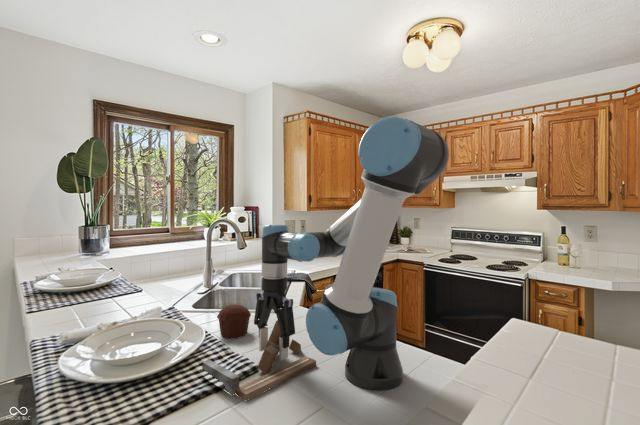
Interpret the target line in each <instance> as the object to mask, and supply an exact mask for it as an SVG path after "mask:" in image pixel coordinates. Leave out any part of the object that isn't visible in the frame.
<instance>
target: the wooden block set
mask: <svg viewBox="0 0 640 425" xmlns="http://www.w3.org/2000/svg"><path fill="white" fill-rule="evenodd" d="M285 332H286V331H285ZM280 336H282V334H281V330H280V327H279V323H278V319H277V320H275V323H274V325H273V328H272V331H271V332H270V335H269V337H268V343H267V345H266V348H265V350H263V351H262V352H263V353H262V355H261V357H260V360H259V363H258V365H257V369H258V368H259V369H258V370H260V371H261V372H262V373H263V374H264V375H266V374H268V373H270V372H271V370H272V369H273V366H274V364H275V361H276V359H277V357H278V356H279V339H280ZM288 350H290V351H292V352H294V353H295V354H298V353H300V352H301V350H302V345H301V344H300V343H299V342H298V341H296V340H294V339H292V340H291V341H290V343H289V347H288Z"/></svg>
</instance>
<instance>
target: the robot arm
mask: <svg viewBox="0 0 640 425" xmlns="http://www.w3.org/2000/svg"><path fill="white" fill-rule="evenodd" d="M448 146H449V145H448V144H447V141H446V140H445V138H444V137H443V135H441V133H439V132H437V131H435V130H433V129H432V128H428V127H427V126H423V125H422V124H419V123H416V122H415V121H413V120H410V119H407V118H403V117H399V116H386V117H383V118H380V119H378V120H377V121H376V122H374V123H372V124H371V125H370V126H369V127H368V128H367V129H366V131H364V134H363V135H362V137H361V139H360V142H359V145H358V157H359V163H360V165H361V167H362V168H363V170H362V173H361V175H360V178H361V181H362V182H363V185H364V190H363V193H362V196H361V198H360V199H359V200H358V201H357V202H356V203H355V204H354V205H352V206H351V207H350V208H349V209H348V210H347V211H346V212H345V213H344V214H343V215H342V216H340V217H339V218H338V219H337V220H336V221H335V222H334V223H332V224H331V225H330V226H329V227H328V228H327V229H325V230H324V231H316V232H315V231H311V232H292V231H291V232H290V231H289V227H288V225H287V224H265V225H263V227H262V234H261V235H262V236H261V276H262V278H261V290H262V292H258V293H256V297H255V298H256V304H255V312H254V319H253V324H254V325H255V326H257V328H258V340H259V345H258V346H259V347H258V351H259V352H264V350H265V348H266V345H267V343H268V340H269V327H268V326H269V325H268V321H269V319H270V315H271V313H272V310H273V312H274V314H275V315H276V318H277V320H278V323H279V327H280V330H281V334H282V336H280V339H279V353H278V356H279V357H278V359H279V361H283V360H284V359H287V358H288V357H289V346H290V337H292V336H293V335H295V334H296V328H295V325H296V324H295V317H294V309H293V308H294V307H293V306H294V300H293V298H287V297H286V290H287V289H288V277H287V276H288V260H291V261H297V262H300V263H301V262H302V263H303V262H312V261H314V260H315V259H319V258H322V259H323V258H337V257H339V256H342V257H341V261H340V263H339V266H338V269H337V272H336V276H335V278H334V281H333V283H330V284H328V285H326V287H325V289H324V291H323V294H322V297H321V300H320V302H319V303H318V302H317V303H315V304H313V305H311V306H310V307H309V308H308V309H307V313H306V315H305V327H306V331H307V334H308V337H309V339H310V342H311V343H312V344H313V347H315V348H316V349H317V351H319V352H320V353H321V354H323V355H326V356H336V355H341V354H343V353H345V352H347V351H349V353H348V356H347V357H346V358H347V359H346V361H345V365H344V376H345V378H346V379H347V380H348V381H349V382H350V383H352V384H353V385H355V386H358V387H360V388H363V389H369V390H374V391H375V390H376V391H382V390H390V389H393V388H396V387H398V386H399V385H401V384H402V382H403V380H404V371H403V370H404V369H403V366H402V363H401V359H400V357H399V356H400V355H399V353H398V350H397V326H398V325H397V324H398V323H397V322H398V321H397V320H398V318H397V317H398V316H397V315H398V302H397V295H396V293H395V292H394V291H392V290H389V289H385V288H381V287H375V286H374V284H375V282H376V278H377V277H378V273H379V270H380V268H381V265H382V262H383V259H384V257H385V254H386V251H387V249H388V246H389V243H390V240H391V237H392V236H393V232H394V229H395V226H396V224H397V221H398V218H399V216H400V213H401V210H402V207H403V204H404V202H405V200H406V199H408V198H410V197H412V196H417V195H419V194H421V193H422V192H423V191H425V189H427V188H429V187H430V186H431V185H432V184H433V183H434V182H436V181H437V180H438V179H439V177H440V176H441V175H442V174H443V173H444V172H445V169H446V168H447V165H448V163H449V157H450V149H449V147H448ZM285 331H286V332H285Z"/></svg>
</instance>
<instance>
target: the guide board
mask: <svg viewBox="0 0 640 425" xmlns="http://www.w3.org/2000/svg"><path fill="white" fill-rule="evenodd" d="M314 367H317V359H313V358H311V357H308V356H304V357H301V358H299V359H297V360H294V361H293V362H290V363H288V364H286V365H284V366H281V367H279V368H277V369H275V370H273V371H269V372H268V373H267V374H264V375H261V376H259V377H258V378H255V379H253V380H251V381H248V382H246V383H243V384H242V385H240V375H239V374H236V373H234V372H233V371H231V370H229V369H227V368H226V367H224V366H221V364H219V363H216V362H214V361H213V360H210V359H208V360H205V361H202V370H203V369H204V370H205V371H206V372H208V373H209V374H210V375H212V376H213V377H215V378H216V379H218V380H219V381H221V382H223V383H224V386H225V390H226V391H227V392H229V393H230V394H231V395H233V394H235V393H236V394H237V395H238V396H239V397H238V396H237V395H236V396H237V397H238V398H240V397H241V398H242V399H241V398H240V399H241V400H243V399H244V400H243V401H245V400H247V401H249V400H251V399H253V398H255V397H257V396H259V395H261V394H263V393H265V392H267V391H269V390H270V389H269V388H271V389H273V388H275V387H277V386H279V385H281V384H283V383H284V382H287V381H289V380H291V379H293V378H295V377H298V376H299V375H301V374H303V373H305V372H307V371H308V370H311V369H312V368H314ZM282 382H283V383H282ZM280 383H281V384H280ZM278 384H279V385H278ZM276 385H277V386H276ZM274 386H275V387H274ZM272 387H273V388H272ZM268 389H269V390H268ZM266 390H267V391H266ZM264 391H265V392H264ZM262 392H263V393H262ZM256 395H257V396H256ZM254 396H255V397H254ZM252 397H253V398H252ZM250 398H251V399H250ZM248 399H249V400H248Z"/></svg>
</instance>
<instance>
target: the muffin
mask: <svg viewBox="0 0 640 425" xmlns="http://www.w3.org/2000/svg"><path fill="white" fill-rule="evenodd" d="M251 316H252V313H251V312H250V310H249V309H248V308H247V307H246V306H243V305H241V304H234V303H233V304H229V305H226V306H224V307H223V308H221V309H220V311H219V312H218V314H217V316H216V318H217V319H218V323H219V331H220V335H221V337H222V338H225V339H229V340H230V339H239V338H243V337H245V336H246V335H247V333H248V330H249V323H250V318H251Z"/></svg>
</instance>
